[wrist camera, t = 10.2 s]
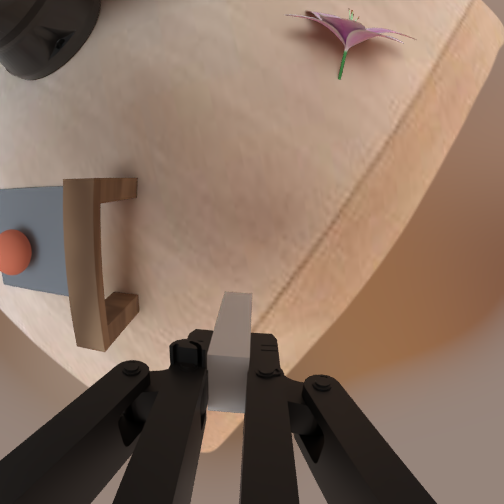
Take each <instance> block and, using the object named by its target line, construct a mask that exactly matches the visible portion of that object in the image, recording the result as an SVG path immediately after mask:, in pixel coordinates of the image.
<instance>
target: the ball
mask: <svg viewBox="0 0 504 504" xmlns="http://www.w3.org/2000/svg"><path fill="white" fill-rule="evenodd" d="M31 255H32V250H31V245H30V242H29V240H28V238H27V237H26V236H25V235H24V234H23V233H22V232H20V231H18V230H14V229H10V230H6V231H4V232H2V233H1V234H0V271H1V272H3V273H4V274H7V275H17V274H20V273H21V272H23V271H24V270H25V269H26V268H27V267H28V265H29V263H30V260H31Z"/></svg>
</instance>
